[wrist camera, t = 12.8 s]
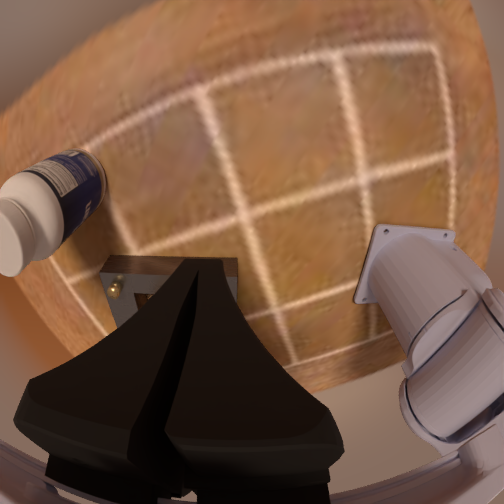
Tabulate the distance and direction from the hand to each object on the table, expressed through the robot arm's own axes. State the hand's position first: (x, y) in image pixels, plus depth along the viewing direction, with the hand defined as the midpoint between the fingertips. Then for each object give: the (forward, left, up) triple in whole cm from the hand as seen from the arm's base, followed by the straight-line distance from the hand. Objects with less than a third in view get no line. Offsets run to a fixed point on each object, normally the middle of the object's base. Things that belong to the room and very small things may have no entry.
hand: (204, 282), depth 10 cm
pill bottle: (+11, -1, -11) cm, 15 cm away
